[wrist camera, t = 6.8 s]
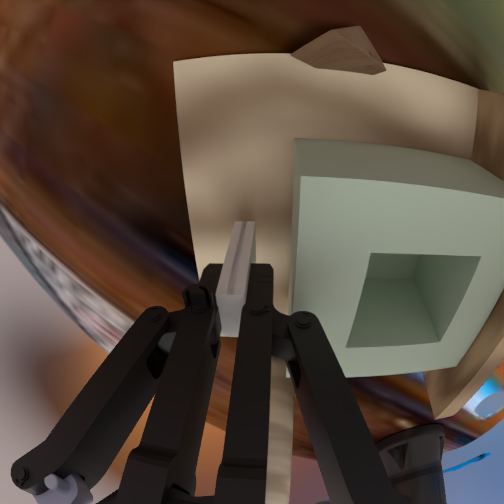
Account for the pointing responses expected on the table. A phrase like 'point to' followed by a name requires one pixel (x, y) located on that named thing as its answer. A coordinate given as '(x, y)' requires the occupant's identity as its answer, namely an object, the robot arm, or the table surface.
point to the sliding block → (394, 253)
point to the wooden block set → (342, 52)
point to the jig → (330, 128)
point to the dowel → (279, 434)
